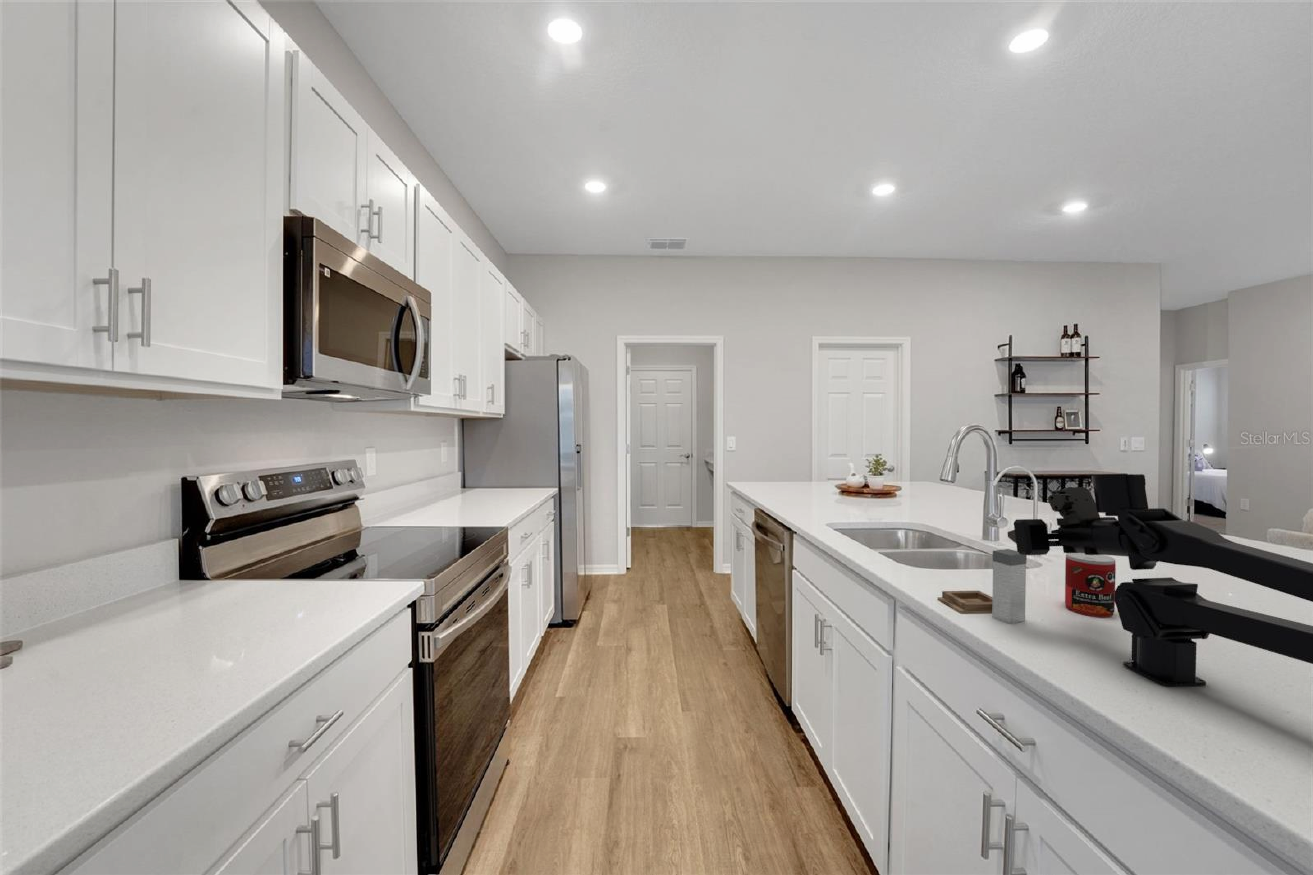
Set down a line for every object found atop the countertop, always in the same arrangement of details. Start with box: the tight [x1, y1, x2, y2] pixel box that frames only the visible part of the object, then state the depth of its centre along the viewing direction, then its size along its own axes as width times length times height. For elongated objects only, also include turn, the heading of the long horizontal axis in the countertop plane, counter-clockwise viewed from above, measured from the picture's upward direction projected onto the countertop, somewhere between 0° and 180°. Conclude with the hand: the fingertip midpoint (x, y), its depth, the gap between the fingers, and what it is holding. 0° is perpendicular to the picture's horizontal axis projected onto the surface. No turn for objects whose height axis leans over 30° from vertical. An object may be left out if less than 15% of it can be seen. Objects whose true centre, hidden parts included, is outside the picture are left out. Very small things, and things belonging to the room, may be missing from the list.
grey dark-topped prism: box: [991, 548, 1028, 625], centre depth 98 cm, size 4×4×13 cm
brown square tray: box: [937, 590, 993, 614], centre depth 105 cm, size 8×10×2 cm
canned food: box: [1064, 553, 1117, 618], centre depth 102 cm, size 8×8×11 cm
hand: (1030, 533), depth 100 cm, fingers open, 9 cm apart
